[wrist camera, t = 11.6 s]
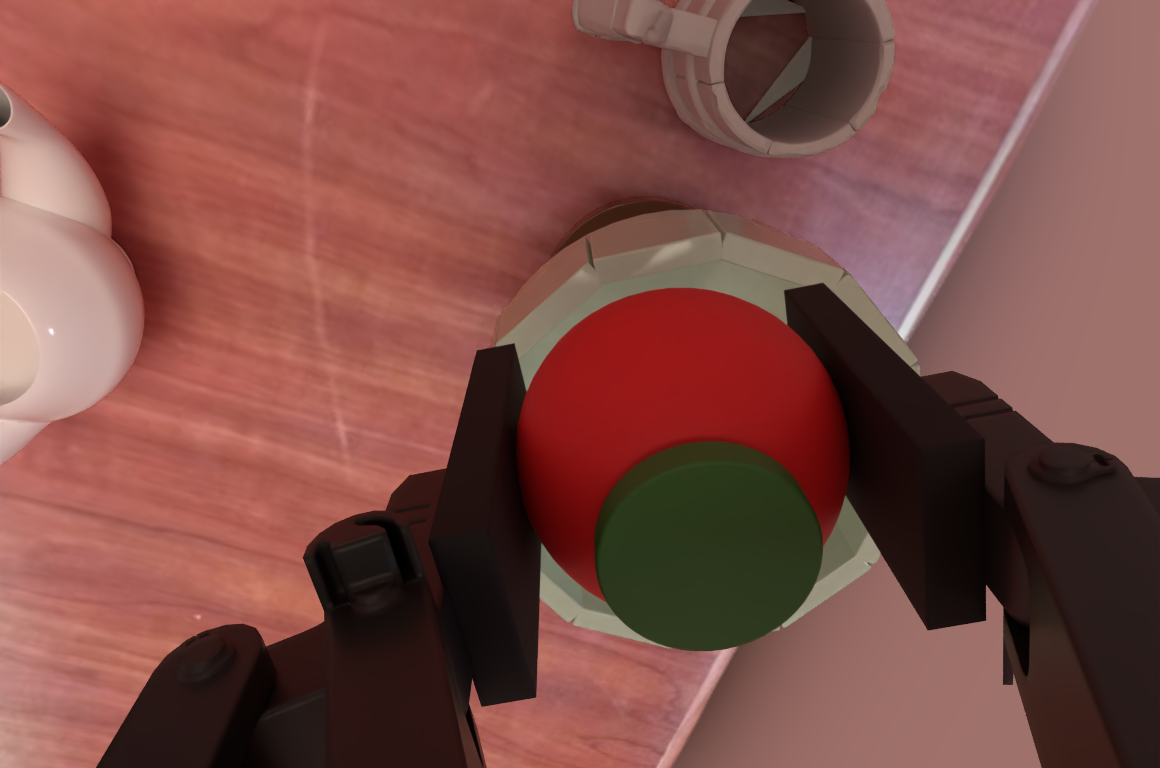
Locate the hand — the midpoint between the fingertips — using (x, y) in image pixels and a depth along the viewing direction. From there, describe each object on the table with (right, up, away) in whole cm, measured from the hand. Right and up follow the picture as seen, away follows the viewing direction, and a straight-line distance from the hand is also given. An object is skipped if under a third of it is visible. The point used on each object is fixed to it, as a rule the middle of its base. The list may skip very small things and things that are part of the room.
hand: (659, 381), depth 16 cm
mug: (+4, +15, +21) cm, 26 cm away
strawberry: (0, 0, 0) cm, 0 cm away
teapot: (-25, +5, +24) cm, 35 cm away
